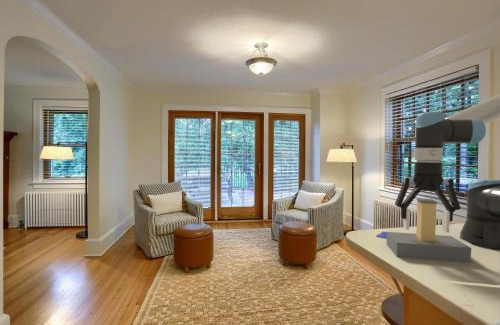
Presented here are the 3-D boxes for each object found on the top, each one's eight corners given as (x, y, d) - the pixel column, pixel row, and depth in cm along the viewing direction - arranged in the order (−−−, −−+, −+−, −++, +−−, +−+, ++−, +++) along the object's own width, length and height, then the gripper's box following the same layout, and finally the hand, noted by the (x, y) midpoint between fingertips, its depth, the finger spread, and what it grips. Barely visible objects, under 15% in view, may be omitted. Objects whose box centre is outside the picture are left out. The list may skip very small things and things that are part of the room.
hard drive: (376, 235, 107) (412, 243, 99) (383, 231, 113) (418, 237, 105) (375, 239, 108) (412, 247, 99) (383, 234, 113) (418, 242, 105)
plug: (429, 244, 92) (431, 199, 92) (435, 248, 88) (437, 201, 87) (415, 243, 93) (417, 198, 92) (420, 247, 89) (422, 200, 88)
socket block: (450, 250, 94) (451, 235, 94) (470, 264, 83) (471, 247, 82) (386, 245, 99) (386, 231, 98) (396, 258, 87) (397, 242, 87)
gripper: (392, 161, 88) (389, 230, 89) (476, 162, 83) (473, 236, 84) (385, 160, 96) (383, 224, 96) (463, 161, 91) (460, 229, 92)
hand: (425, 230), depth 90 cm, fingers open, 11 cm apart
